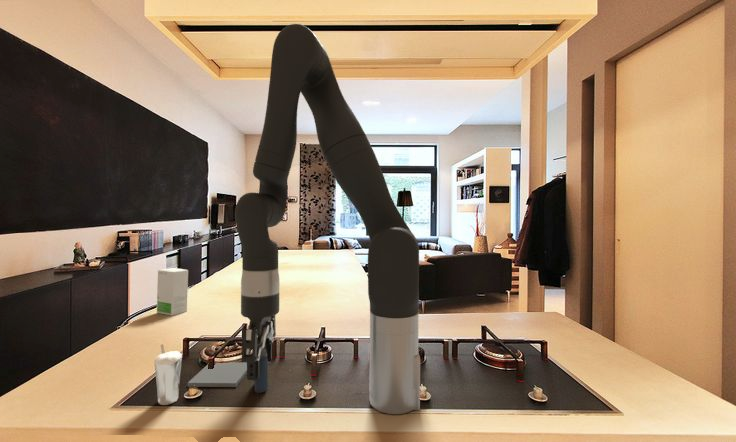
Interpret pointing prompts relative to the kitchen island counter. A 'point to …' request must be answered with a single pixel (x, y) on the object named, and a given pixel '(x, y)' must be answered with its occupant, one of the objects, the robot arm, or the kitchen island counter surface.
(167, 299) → the skincare box
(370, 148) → the robot arm
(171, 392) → the milkshake
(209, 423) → the kitchen island counter surface
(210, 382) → the charcoal mat
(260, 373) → the vaping device
